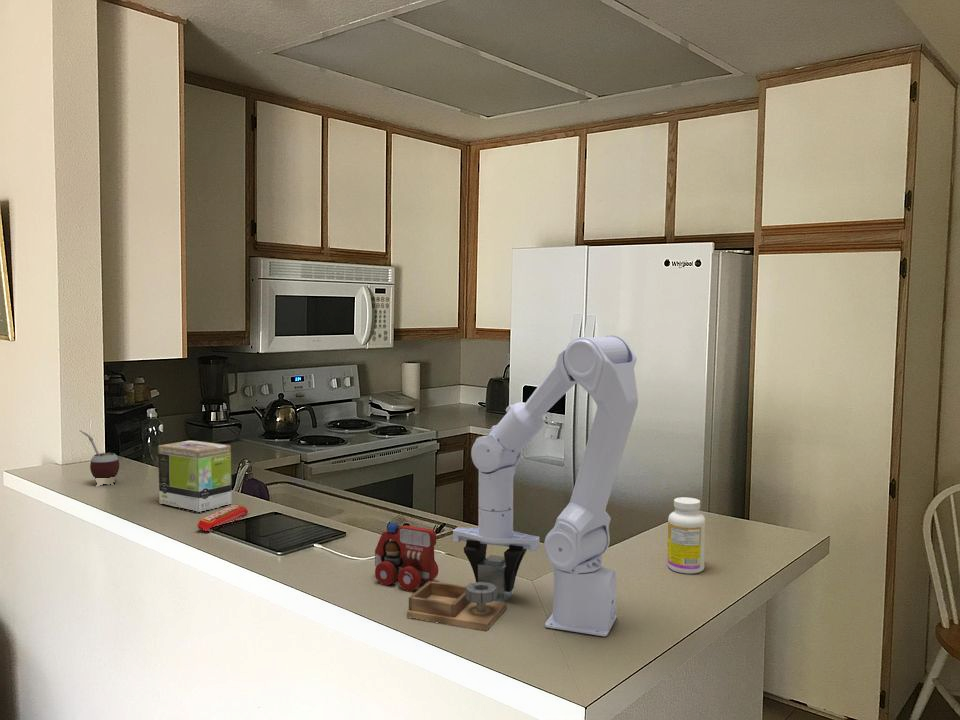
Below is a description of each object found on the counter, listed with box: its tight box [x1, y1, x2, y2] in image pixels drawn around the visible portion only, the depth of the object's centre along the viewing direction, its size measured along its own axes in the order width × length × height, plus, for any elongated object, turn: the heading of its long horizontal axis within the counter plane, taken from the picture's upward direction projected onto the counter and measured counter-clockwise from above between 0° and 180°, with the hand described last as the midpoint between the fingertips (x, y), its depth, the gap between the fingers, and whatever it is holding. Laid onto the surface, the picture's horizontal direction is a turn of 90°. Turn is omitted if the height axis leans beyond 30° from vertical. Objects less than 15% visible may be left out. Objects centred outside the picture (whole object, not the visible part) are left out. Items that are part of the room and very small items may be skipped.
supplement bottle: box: [667, 496, 706, 575], centre depth 143 cm, size 7×7×13 cm
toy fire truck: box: [374, 521, 439, 592], centre depth 136 cm, size 7×12×10 cm, turn 58°
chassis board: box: [406, 580, 507, 632], centre depth 122 cm, size 13×9×4 cm
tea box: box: [157, 440, 233, 511], centre depth 186 cm, size 15×10×15 cm, turn 58°
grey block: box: [478, 554, 514, 603], centre depth 129 cm, size 4×4×7 cm
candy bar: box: [196, 503, 249, 532], centre depth 172 cm, size 16×4×3 cm, turn 165°
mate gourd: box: [79, 430, 120, 479], centre depth 207 cm, size 8×8×15 cm
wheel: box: [466, 582, 497, 604], centre depth 121 cm, size 5×5×2 cm
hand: (495, 587), depth 129 cm, fingers closed on grey block, 4 cm apart
